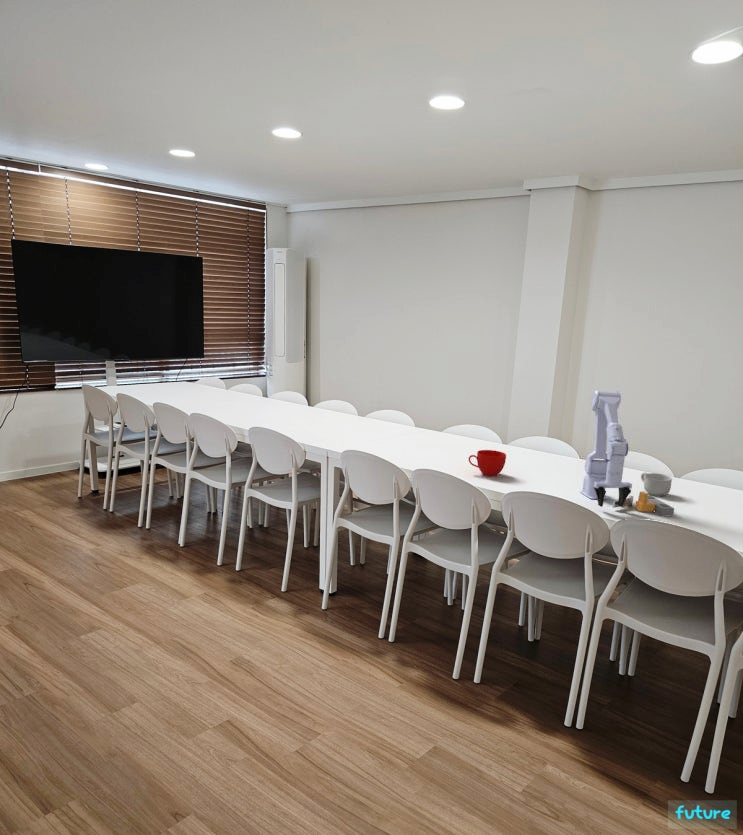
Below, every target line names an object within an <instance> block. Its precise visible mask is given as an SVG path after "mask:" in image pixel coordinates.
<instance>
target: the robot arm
mask: <svg viewBox="0 0 743 835" xmlns="http://www.w3.org/2000/svg"><path fill="white" fill-rule="evenodd" d="M591 396H592V397H591V410H592V411H594V412H595V415H594V416H595V418H594V437H593V438H594V439H593V451H592V452H591V453H589V454H588V455H587V456H586V457H585V458H586V459H585V462H584V463H585V464H584V471H585V476H584V477H583V483H582V490H580V491H579V492H580V493H581V494H583V495H584V496H586V497H587V498H588V499H590V500H597V505H598V506H599V507H603V506H604V502H605V501H604V500H609V497H608V496H606V494H607V493H606V492H607V490H606V489H618V505H619V506H620V507H619V508H621V507H622V508H623V507H624V506H623V504H624V502H625V500H626V498H628V497H629V496H630V494H631V493H632V487H633V484H632V483H631V482H630V481H629V482H628V481H622V480H623V473H624V466H625V457H627V455H628V454H629V450H630V449H629V448H630V447H629V443H628V441H627V439H626V438H625V437H624V431H623V427H622V425H621V424H619V420H618V419H619V415H618V409H619V406H620V404H621V400H622V396H621V393H620V392H619V391H612V390H610V391H608V390H597V389H596V390H594V392H593V394H592V395H591ZM607 441H608V442H607Z"/></svg>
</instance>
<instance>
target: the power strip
mask: <svg viewBox="0 0 743 835" xmlns="http://www.w3.org/2000/svg"><path fill="white" fill-rule="evenodd" d="M637 499H638V500H637V501H639V497H638V498H637ZM647 501H650V502H652V503H654V504H655V512H654V513H656V514H657V513H658V514H657V515H659V514H660V515H659V516H661V515H668V516H667V517H670V516H671V517H673V516H674V514H675V507H673V506H671V505H669V504H667V503H665V502H664V501H661V500H660V499H658V498H656V497H654V496H653V495H651V494H648V498H647ZM669 515H670V516H669Z"/></svg>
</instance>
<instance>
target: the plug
mask: <svg viewBox="0 0 743 835" xmlns="http://www.w3.org/2000/svg"><path fill="white" fill-rule="evenodd" d="M648 495H649V493H648V492H646V491H639V494H638V498H639V501H638V500H635V510H637V511H639V512H641V513H643V512H644V513H645V512H646V513H647V512H649V513H655V512H654V511H655V504H654V503H652V502H650V501H647V498H648Z"/></svg>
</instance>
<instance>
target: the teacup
mask: <svg viewBox="0 0 743 835" xmlns="http://www.w3.org/2000/svg"><path fill="white" fill-rule="evenodd" d="M640 479H641V481H642V482H643V490H644V491H645V492H646V493H647V494H648V495H651V496H654V495H655V497H664V496H666V495H668V494H669V493H670V491H671V488H672V480H673V477H671V476H669V475H667V474H664V473H659V472H658V473H656V472H651V473H649V472H642V473H641V474H640Z"/></svg>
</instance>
